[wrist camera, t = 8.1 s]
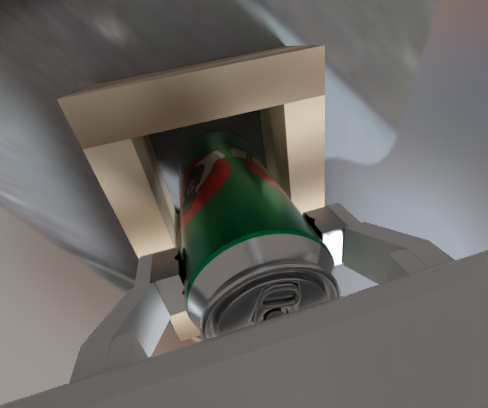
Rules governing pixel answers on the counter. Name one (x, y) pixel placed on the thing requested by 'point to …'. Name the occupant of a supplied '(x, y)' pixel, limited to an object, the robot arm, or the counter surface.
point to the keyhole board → (193, 112)
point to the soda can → (244, 241)
